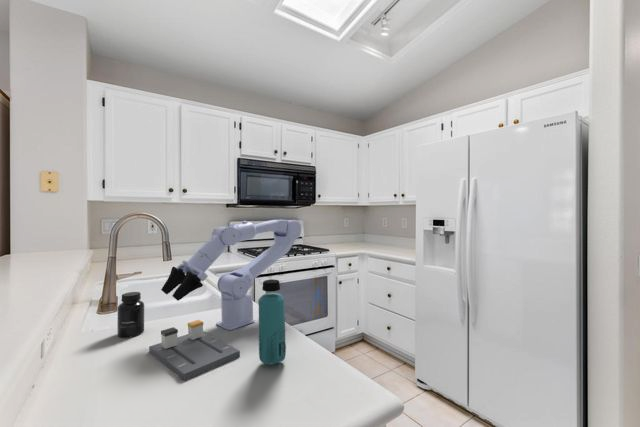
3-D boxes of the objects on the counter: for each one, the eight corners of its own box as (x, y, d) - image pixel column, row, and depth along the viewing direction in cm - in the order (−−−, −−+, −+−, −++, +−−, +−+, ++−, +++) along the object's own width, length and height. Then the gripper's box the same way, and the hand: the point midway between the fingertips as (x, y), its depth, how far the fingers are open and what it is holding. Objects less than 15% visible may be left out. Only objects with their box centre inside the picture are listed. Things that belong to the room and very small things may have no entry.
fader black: (173, 342, 80) (173, 327, 80) (178, 345, 78) (177, 329, 78) (161, 346, 78) (160, 330, 78) (165, 349, 76) (164, 333, 76)
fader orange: (198, 333, 85) (198, 319, 85) (203, 336, 84) (203, 322, 84) (187, 337, 83) (187, 323, 83) (192, 340, 81) (192, 325, 81)
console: (200, 335, 89) (200, 329, 89) (239, 356, 75) (239, 350, 75) (149, 352, 78) (149, 346, 78) (184, 380, 65) (184, 373, 65)
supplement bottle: (123, 340, 85) (122, 298, 85) (113, 334, 89) (113, 294, 89) (148, 332, 91) (148, 293, 91) (138, 327, 95) (138, 289, 95)
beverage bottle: (281, 372, 68) (280, 284, 68) (253, 369, 69) (252, 283, 69) (289, 358, 74) (289, 277, 74) (264, 356, 76) (263, 276, 75)
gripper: (184, 246, 93) (149, 281, 86) (208, 252, 83) (170, 292, 76) (199, 260, 96) (166, 295, 89) (223, 268, 87) (188, 308, 80)
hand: (169, 295), depth 83 cm, fingers open, 7 cm apart
